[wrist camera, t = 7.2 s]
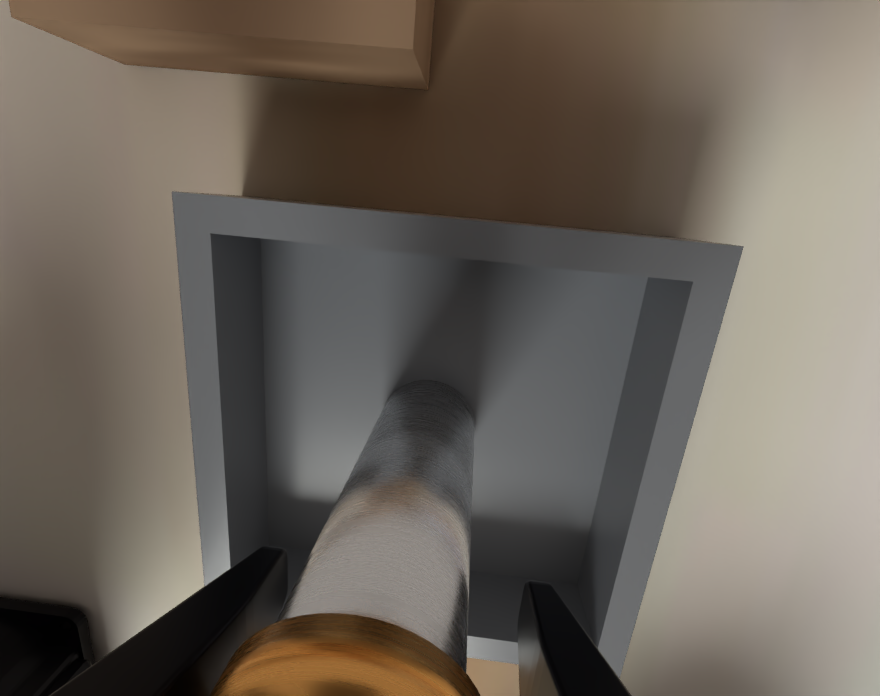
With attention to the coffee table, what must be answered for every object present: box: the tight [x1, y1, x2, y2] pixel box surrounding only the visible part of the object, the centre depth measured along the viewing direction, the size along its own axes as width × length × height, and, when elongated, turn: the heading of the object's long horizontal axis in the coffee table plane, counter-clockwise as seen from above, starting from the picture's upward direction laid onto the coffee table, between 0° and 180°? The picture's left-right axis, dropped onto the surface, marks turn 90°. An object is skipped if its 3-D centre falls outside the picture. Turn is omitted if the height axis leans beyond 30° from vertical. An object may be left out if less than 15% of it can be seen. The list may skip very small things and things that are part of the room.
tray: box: [172, 191, 744, 678], centre depth 13 cm, size 12×12×3 cm
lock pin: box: [210, 380, 480, 696], centre depth 9 cm, size 3×3×9 cm
